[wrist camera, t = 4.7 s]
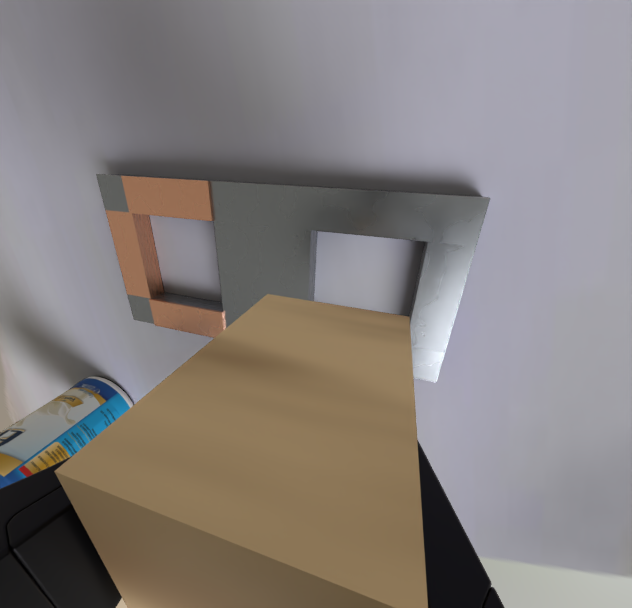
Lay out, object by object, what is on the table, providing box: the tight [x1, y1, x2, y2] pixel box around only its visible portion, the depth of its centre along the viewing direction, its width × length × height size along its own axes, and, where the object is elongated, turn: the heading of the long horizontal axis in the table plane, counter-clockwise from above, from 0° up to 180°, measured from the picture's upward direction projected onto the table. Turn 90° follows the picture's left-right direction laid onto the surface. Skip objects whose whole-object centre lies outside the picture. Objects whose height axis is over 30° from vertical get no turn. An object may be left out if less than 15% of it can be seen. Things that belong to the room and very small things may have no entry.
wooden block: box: [54, 294, 428, 608], centre depth 7 cm, size 5×5×7 cm
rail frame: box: [96, 174, 490, 382], centre depth 20 cm, size 12×26×2 cm, turn 87°
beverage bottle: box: [0, 377, 133, 489], centre depth 25 cm, size 8×8×20 cm
